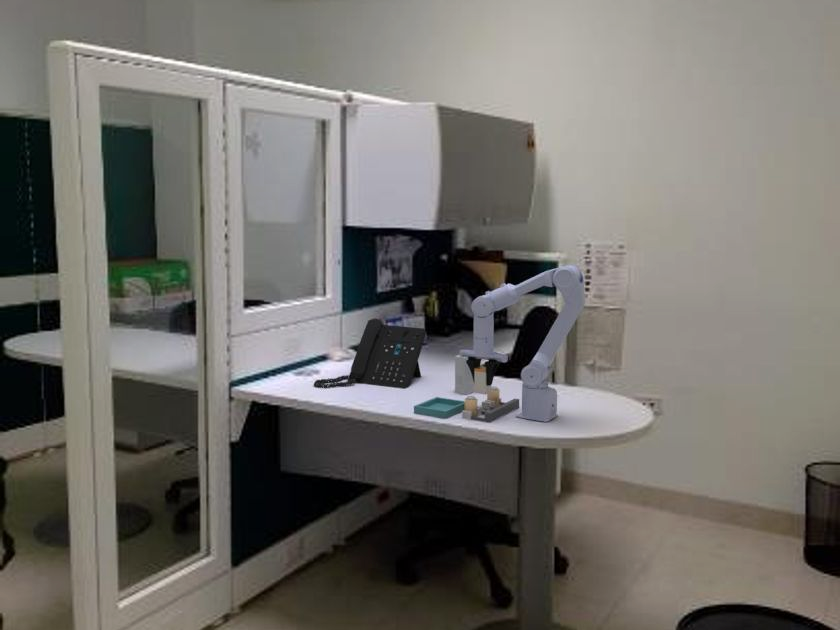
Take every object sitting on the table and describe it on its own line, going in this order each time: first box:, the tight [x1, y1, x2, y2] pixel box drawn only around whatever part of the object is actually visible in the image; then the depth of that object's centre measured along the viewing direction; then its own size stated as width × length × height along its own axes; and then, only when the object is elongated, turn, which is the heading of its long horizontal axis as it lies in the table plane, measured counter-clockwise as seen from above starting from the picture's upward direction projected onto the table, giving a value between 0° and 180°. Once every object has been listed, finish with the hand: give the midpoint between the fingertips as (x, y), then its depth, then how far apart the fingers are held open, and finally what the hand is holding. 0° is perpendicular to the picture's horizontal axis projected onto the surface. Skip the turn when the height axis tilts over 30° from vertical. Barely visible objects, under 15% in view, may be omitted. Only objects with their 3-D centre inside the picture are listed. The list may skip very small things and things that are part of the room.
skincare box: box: [454, 354, 474, 396], centre depth 251 cm, size 6×4×12 cm
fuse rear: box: [486, 385, 501, 407], centre depth 235 cm, size 4×4×6 cm
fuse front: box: [464, 395, 479, 417], centre depth 224 cm, size 4×4×6 cm
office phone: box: [313, 318, 427, 389], centre depth 264 cm, size 29×28×20 cm
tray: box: [413, 396, 465, 420], centre depth 230 cm, size 11×13×2 cm
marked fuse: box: [473, 365, 492, 396], centre depth 229 cm, size 4×4×7 cm
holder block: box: [461, 397, 520, 424], centre depth 228 cm, size 9×19×2 cm, turn 148°
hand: (482, 384), depth 229 cm, fingers closed on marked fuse, 4 cm apart
